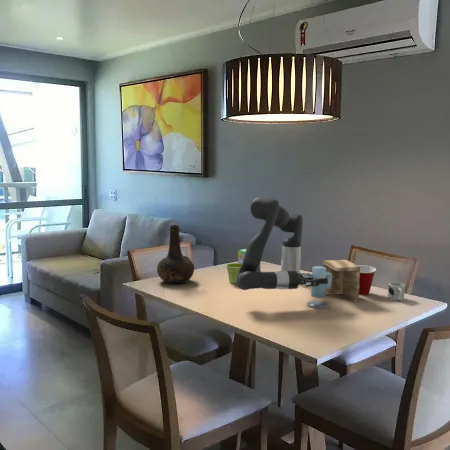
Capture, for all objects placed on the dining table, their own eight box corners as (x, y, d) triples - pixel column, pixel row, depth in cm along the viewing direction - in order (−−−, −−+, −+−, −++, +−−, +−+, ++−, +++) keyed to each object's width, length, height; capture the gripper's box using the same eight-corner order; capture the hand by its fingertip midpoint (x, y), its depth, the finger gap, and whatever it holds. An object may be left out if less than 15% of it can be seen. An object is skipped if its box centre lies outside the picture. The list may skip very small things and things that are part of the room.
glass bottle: (201, 282, 242) (201, 225, 238) (171, 288, 230) (171, 229, 226) (179, 275, 255) (179, 221, 251) (149, 281, 243) (149, 224, 239)
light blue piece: (313, 297, 203) (315, 269, 202) (309, 294, 209) (310, 266, 207) (332, 297, 205) (334, 268, 203) (327, 293, 210) (329, 265, 209)
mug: (385, 296, 222) (386, 282, 221) (400, 296, 222) (401, 282, 221) (393, 303, 212) (394, 288, 211) (408, 303, 212) (409, 288, 211)
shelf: (334, 303, 211) (336, 267, 209) (322, 293, 225) (323, 260, 223) (358, 302, 213) (360, 266, 211) (344, 292, 227) (345, 259, 225)
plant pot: (238, 286, 236) (239, 268, 235) (222, 283, 241) (222, 265, 240) (248, 281, 244) (248, 264, 243) (232, 279, 249) (232, 262, 248)
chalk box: (250, 268, 273) (250, 242, 271) (261, 271, 266) (261, 244, 264) (236, 270, 268) (237, 243, 266) (247, 274, 260) (248, 246, 258)
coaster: (308, 308, 203) (308, 307, 203) (305, 302, 212) (305, 300, 212) (330, 308, 203) (330, 307, 203) (326, 302, 212) (326, 300, 212)
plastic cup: (347, 294, 224) (348, 268, 222) (353, 289, 233) (354, 264, 232) (372, 298, 219) (373, 271, 217) (377, 292, 228) (378, 266, 227)
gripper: (291, 275, 195) (331, 274, 198) (280, 267, 209) (318, 266, 212) (290, 293, 196) (330, 292, 199) (280, 284, 210) (317, 283, 213)
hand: (324, 279), depth 206 cm, fingers closed on light blue piece, 5 cm apart
